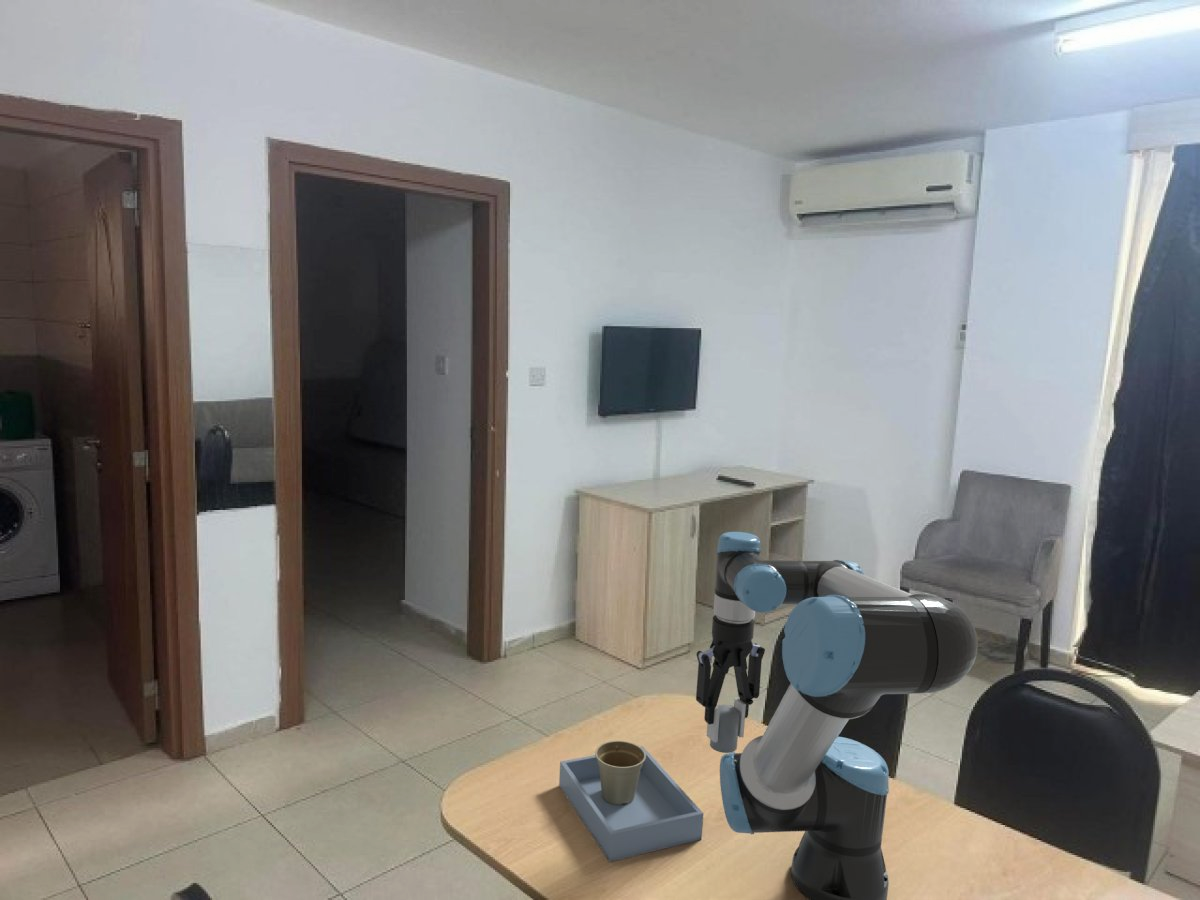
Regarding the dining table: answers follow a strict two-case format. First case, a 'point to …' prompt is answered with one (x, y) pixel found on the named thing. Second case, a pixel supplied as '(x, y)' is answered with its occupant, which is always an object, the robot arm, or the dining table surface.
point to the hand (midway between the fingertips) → (725, 736)
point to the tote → (632, 809)
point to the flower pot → (619, 770)
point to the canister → (727, 729)
